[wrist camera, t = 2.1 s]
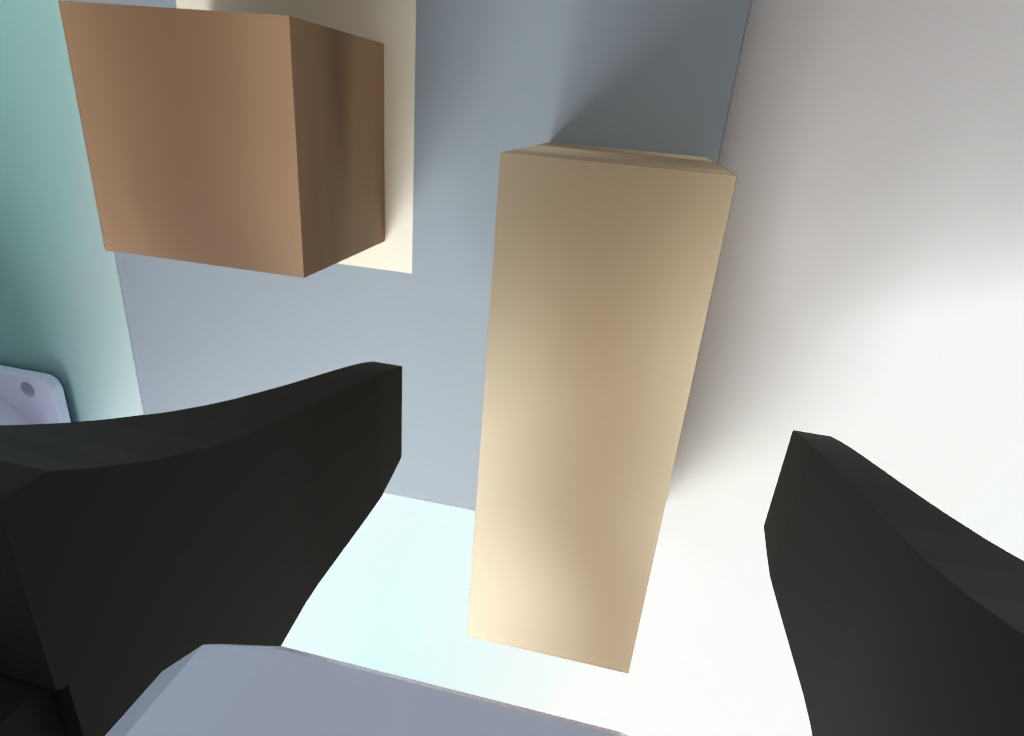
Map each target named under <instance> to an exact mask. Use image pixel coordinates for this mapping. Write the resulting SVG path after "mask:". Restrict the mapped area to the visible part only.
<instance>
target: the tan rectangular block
mask: <svg viewBox="0 0 1024 736" xmlns="http://www.w3.org/2000/svg"><path fill="white" fill-rule="evenodd" d="M736 179H737V176H736V175H735V174H733V173H731V172H730V171H728V170H727V169H725V168H723V167H722V166H720V165H718V164H717V163H715V162H714V161H712V160H710V159H709V158H707V157H699V156H689V155H678V154H668V153H658V152H647V151H637V150H626V149H616V148H605V147H595V146H584V145H574V144H564V143H553V142H548V143H543V144H538V145H533V146H529V147H524V148H519V149H514V150H510V151H505V152H500V167H499V181H498V196H497V210H496V225H495V239H494V254H493V268H492V283H491V297H490V312H489V326H488V341H487V355H486V370H485V384H484V399H483V413H482V428H481V442H480V457H479V471H478V486H477V500H476V515H475V529H474V544H473V559H472V573H471V588H470V602H469V617H468V631H467V636H470V637H474V638H478V639H483V640H487V641H491V642H496V643H500V644H504V645H508V646H513V647H517V648H521V649H526V650H530V651H534V652H539V653H543V654H547V655H551V656H556V657H560V658H564V659H569V660H573V661H577V662H581V663H586V664H590V665H594V666H599V667H603V668H607V669H612V670H616V671H620V672H624V673H628V672H629V668H630V663H631V658H632V654H633V649H634V645H635V640H636V636H637V631H638V626H639V622H640V617H641V613H642V608H643V604H644V599H645V594H646V590H647V585H648V581H649V576H650V572H651V567H652V563H653V558H654V553H655V549H656V544H657V540H658V535H659V531H660V526H661V521H662V517H663V512H664V508H665V503H666V499H667V494H668V489H669V485H670V480H671V476H672V471H673V467H674V462H675V457H676V453H677V448H678V444H679V439H680V435H681V430H682V426H683V421H684V416H685V412H686V407H687V403H688V398H689V394H690V389H691V384H692V380H693V375H694V371H695V366H696V362H697V357H698V352H699V348H700V343H701V339H702V334H703V330H704V325H705V320H706V316H707V311H708V307H709V302H710V298H711V293H712V289H713V284H714V279H715V275H716V270H717V266H718V261H719V257H720V252H721V247H722V243H723V238H724V234H725V229H726V225H727V220H728V215H729V211H730V206H731V202H732V197H733V193H734V188H735V183H736Z"/></svg>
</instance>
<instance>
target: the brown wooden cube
mask: <svg viewBox="0 0 1024 736" xmlns="http://www.w3.org/2000/svg"><path fill="white" fill-rule="evenodd" d="M58 1H59V6H60V12H61V17H62V22H63V28H64V33H65V38H66V44H67V49H68V54H69V60H70V65H71V70H72V76H73V81H74V86H75V92H76V97H77V102H78V108H79V113H80V118H81V124H82V129H83V134H84V139H85V145H86V150H87V155H88V161H89V166H90V171H91V177H92V182H93V187H94V193H95V198H96V203H97V209H98V214H99V219H100V225H101V230H102V235H103V241H104V246H105V250H109V251H116V252H123V253H130V254H137V255H144V256H151V257H158V258H165V259H172V260H180V261H187V262H194V263H201V264H208V265H215V266H222V267H229V268H236V269H243V270H250V271H257V272H264V273H272V274H279V275H286V276H293V277H300V278H305V277H307V276H310V275H312V274H314V273H316V272H318V271H321V270H323V269H325V268H327V267H329V266H332V265H334V264H336V263H338V262H340V261H343V260H345V259H347V258H349V257H351V256H353V255H356V254H358V253H360V252H362V251H364V250H367V249H369V248H371V247H373V246H375V245H378V244H380V243H382V242H384V241H385V178H384V44H383V43H380V42H377V41H373V40H370V39H366V38H363V37H360V36H356V35H353V34H349V33H346V32H343V31H339V30H336V29H332V28H329V27H325V26H322V25H319V24H315V23H312V22H308V21H305V20H302V19H298V18H295V17H291V16H285V15H270V14H255V13H240V12H225V11H210V10H195V9H180V8H165V7H150V6H135V5H120V4H105V3H90V2H75V1H60V0H58Z"/></svg>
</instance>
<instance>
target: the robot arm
mask: <svg viewBox="0 0 1024 736" xmlns="http://www.w3.org/2000/svg"><path fill="white" fill-rule="evenodd" d="M401 457H402V366H398V365H392V364H386V363H380V362H374V361H372V362H364V363H359V364H355V365H351V366H347V367H344V368H340V369H337V370H333V371H330V372H327V373H323V374H320V375H317V376H314V377H310V378H307V379H304V380H300V381H297V382H294V383H291V384H287V385H284V386H280V387H276V388H273V389H269V390H265V391H262V392H258V393H254V394H251V395H247V396H243V397H240V398H236V399H231V400H227V401H223V402H218V403H213V404H209V405H204V406H198V407H193V408H187V409H182V410H177V411H170V412H164V413H156V414H148V415H139V416H131V417H123V418H115V419H106V420H96V421H83V422H71V420H70V416H69V412H68V407H67V403H66V399H65V395H64V390H63V387H62V385H61V383H60V382H59V381H58V380H57V379H56V378H55V377H54V376H52V375H49V374H46V373H41V372H35V371H30V370H24V369H19V368H13V367H8V366H2V365H0V736H627V735H625V734H623V733H620V732H617V731H613V730H609V729H605V728H601V727H598V726H594V725H590V724H586V723H582V722H578V721H574V720H570V719H566V718H562V717H558V716H554V715H550V714H546V713H542V712H538V711H534V710H530V709H527V708H523V707H519V706H515V705H511V704H507V703H503V702H499V701H495V700H491V699H487V698H483V697H479V696H475V695H471V694H467V693H463V692H460V691H456V690H452V689H448V688H444V687H440V686H436V685H432V684H428V683H424V682H420V681H416V680H412V679H408V678H404V677H400V676H396V675H392V674H389V673H385V672H381V671H377V670H373V669H369V668H365V667H361V666H357V665H353V664H349V663H345V662H341V661H337V660H333V659H329V658H325V657H321V656H318V655H314V654H310V653H306V652H302V651H298V650H294V649H290V648H286V647H282V646H281V645H282V643H283V641H284V639H285V638H286V636H287V634H288V632H289V631H290V629H291V627H292V626H293V624H294V622H295V620H296V619H297V617H298V615H299V613H300V612H301V610H302V608H303V606H304V605H305V603H306V601H307V600H308V598H309V597H310V595H311V594H312V592H313V591H314V589H315V588H316V586H317V585H318V583H319V582H320V581H321V579H322V578H323V576H324V575H325V574H326V572H327V571H328V570H329V568H330V567H331V566H332V564H333V563H334V561H335V560H336V559H337V557H338V556H339V555H340V553H341V552H342V550H343V549H344V548H345V546H346V545H347V544H348V542H349V541H350V540H351V538H352V537H353V535H354V534H355V533H356V531H357V530H358V529H359V527H360V526H361V525H362V523H363V522H364V520H365V519H366V518H367V516H368V515H369V513H370V512H371V511H372V509H373V508H374V506H375V505H376V503H377V502H378V501H379V499H380V498H381V496H382V494H383V493H384V491H385V489H386V487H387V485H388V483H389V481H390V479H391V478H392V475H393V473H394V471H395V469H396V467H397V465H398V463H399V461H400V459H401ZM764 531H765V540H766V549H767V557H768V565H769V572H770V577H771V581H772V585H773V589H774V592H775V596H776V600H777V603H778V607H779V610H780V614H781V618H782V621H783V625H784V628H785V632H786V635H787V639H788V642H789V645H790V649H791V652H792V656H793V659H794V663H795V666H796V670H797V673H798V677H799V680H800V684H801V687H802V691H803V694H804V698H805V703H806V707H807V711H808V715H809V720H810V724H811V729H812V735H813V736H1024V561H1023V560H1021V559H1019V558H1017V557H1015V556H1013V555H1012V554H1010V553H1008V552H1006V551H1005V550H1003V549H1001V548H1000V547H998V546H996V545H995V544H993V543H991V542H989V541H988V540H986V539H985V538H983V537H981V536H980V535H978V534H977V533H975V532H973V531H972V530H970V529H969V528H967V527H966V526H964V525H962V524H961V523H959V522H958V521H956V520H955V519H953V518H951V517H950V516H948V515H947V514H945V513H944V512H942V511H941V510H939V509H938V508H936V507H935V506H933V505H932V504H930V503H929V502H927V501H926V500H924V499H923V498H922V497H920V496H919V495H917V494H916V493H914V492H913V491H911V490H910V489H909V488H907V487H906V486H904V485H903V484H901V483H900V482H899V481H897V480H896V479H894V478H893V477H892V476H890V475H889V474H887V473H886V472H885V471H883V470H882V469H880V468H879V467H877V466H876V465H875V464H873V463H872V462H870V461H869V460H868V459H866V458H865V457H863V456H862V455H860V454H859V453H857V452H856V451H854V450H853V449H851V448H850V447H848V446H847V445H845V444H844V443H842V442H840V441H838V440H836V439H834V438H832V437H830V436H824V435H818V434H812V433H806V432H800V431H794V430H793V432H792V436H791V439H790V442H789V445H788V449H787V452H786V455H785V459H784V462H783V465H782V468H781V472H780V475H779V478H778V482H777V485H776V488H775V492H774V495H773V498H772V501H771V505H770V508H769V511H768V515H767V518H766V521H765V525H764Z"/></svg>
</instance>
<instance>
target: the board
mask: <svg viewBox="0 0 1024 736" xmlns="http://www.w3.org/2000/svg"><path fill="white" fill-rule="evenodd" d="M69 1H75V2H90V3H105V4H120V5H135V6H150V7H165V8H180V9H195V10H210V11H225V12H240V13H255V14H270V15H285V16H291V17H295V18H298V19H302V20H305V21H308V22H312V23H315V24H319V25H322V26H325V27H329V28H332V29H336V30H339V31H343V32H346V33H349V34H353V35H356V36H360V37H363V38H366V39H370V40H373V41H377V42H380V43H383V44H384V178H385V241H384V242H382V243H380V244H378V245H375V246H373V247H371V248H369V249H367V250H364V251H362V252H360V253H358V254H356V255H353V256H351V257H349V258H347V259H345V260H343V261H340V262H338V263H336V264H334V265H332V266H329V267H327V268H325V269H323V270H321V271H318V272H316V273H314V274H312V275H310V276H307V277H305V278H300V277H293V276H286V275H279V274H272V273H264V272H257V271H250V270H243V269H236V268H229V267H222V266H215V265H208V264H201V263H194V262H187V261H180V260H172V259H165V258H158V257H151V256H144V255H137V254H130V253H123V252H116V251H114V253H115V259H116V264H117V270H118V275H119V281H120V286H121V292H122V297H123V303H124V308H125V314H126V319H127V325H128V330H129V336H130V341H131V347H132V352H133V358H134V363H135V369H136V374H137V380H138V385H139V391H140V396H141V402H142V407H143V413H144V415H148V414H156V413H164V412H170V411H177V410H182V409H187V408H193V407H198V406H204V405H209V404H213V403H218V402H223V401H227V400H231V399H236V398H240V397H243V396H247V395H251V394H254V393H258V392H262V391H265V390H269V389H273V388H276V387H280V386H284V385H287V384H291V383H294V382H297V381H300V380H304V379H307V378H310V377H314V376H317V375H320V374H323V373H327V372H330V371H333V370H337V369H340V368H344V367H347V366H351V365H355V364H359V363H364V362H372V361H374V362H380V363H386V364H392V365H398V366H402V457H401V459H400V461H399V463H398V465H397V467H396V469H395V471H394V473H393V475H392V478H391V479H390V481H389V483H388V485H387V487H386V489H385V491H384V493H389V494H394V495H399V496H404V497H409V498H414V499H419V500H424V501H429V502H434V503H439V504H445V505H450V506H455V507H460V508H465V509H470V510H475V511H476V500H477V486H478V471H479V457H480V442H481V428H482V413H483V399H484V384H485V370H486V355H487V341H488V326H489V312H490V297H491V283H492V268H493V254H494V239H495V225H496V210H497V196H498V181H499V167H500V152H505V151H510V150H514V149H519V148H524V147H529V146H533V145H538V144H543V143H548V142H553V143H564V144H574V145H584V146H595V147H605V148H616V149H626V150H637V151H647V152H658V153H668V154H678V155H689V156H699V157H707V158H709V159H710V160H712V161H714V162H715V163H718V158H719V153H720V148H721V143H722V138H723V133H724V129H725V124H726V119H727V114H728V109H729V104H730V99H731V94H732V90H733V85H734V80H735V75H736V70H737V65H738V60H739V55H740V51H741V46H742V41H743V36H744V31H745V26H746V21H747V16H748V11H749V7H750V2H751V0H69Z"/></svg>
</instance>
